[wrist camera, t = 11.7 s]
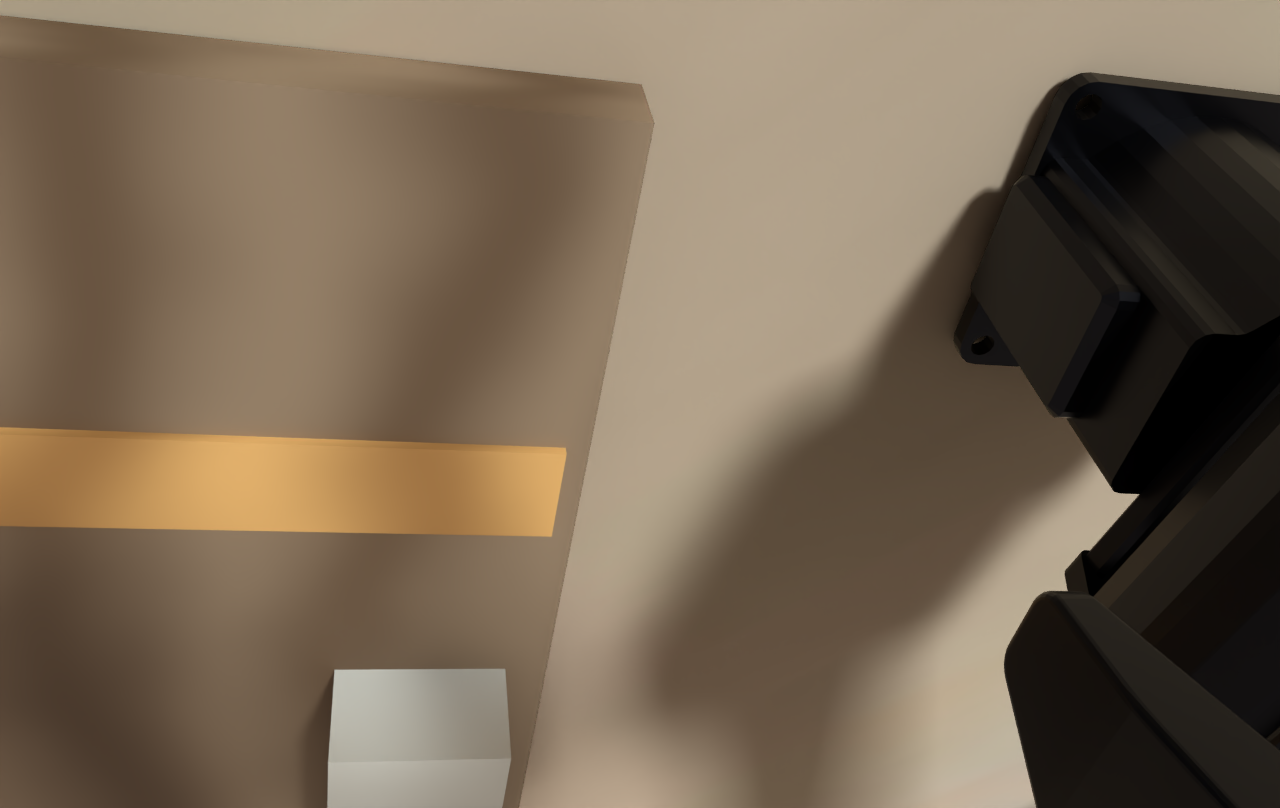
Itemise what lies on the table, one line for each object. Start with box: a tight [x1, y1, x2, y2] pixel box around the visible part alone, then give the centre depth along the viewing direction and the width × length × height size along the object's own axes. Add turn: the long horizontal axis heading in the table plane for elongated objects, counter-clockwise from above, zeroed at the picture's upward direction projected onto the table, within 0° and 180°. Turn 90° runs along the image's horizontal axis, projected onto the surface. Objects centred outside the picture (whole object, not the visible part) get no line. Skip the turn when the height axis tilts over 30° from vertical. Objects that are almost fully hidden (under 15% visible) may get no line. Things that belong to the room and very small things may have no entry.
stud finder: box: [327, 669, 511, 808], centre depth 29 cm, size 7×4×3 cm, turn 170°
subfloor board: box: [0, 16, 654, 808], centre depth 24 cm, size 20×22×2 cm
